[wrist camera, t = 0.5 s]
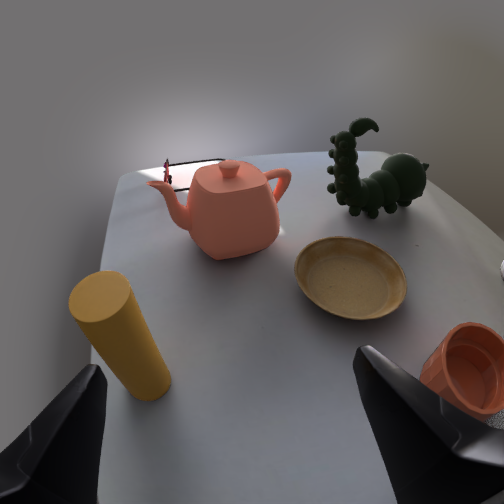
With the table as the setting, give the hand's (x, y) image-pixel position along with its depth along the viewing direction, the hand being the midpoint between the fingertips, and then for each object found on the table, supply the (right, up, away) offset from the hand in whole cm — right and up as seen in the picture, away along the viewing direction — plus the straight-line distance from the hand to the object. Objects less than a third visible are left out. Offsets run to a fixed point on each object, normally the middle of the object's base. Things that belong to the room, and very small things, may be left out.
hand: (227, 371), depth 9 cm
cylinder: (-10, -9, +17) cm, 21 cm away
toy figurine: (+25, +12, +43) cm, 51 cm away
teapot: (-3, +6, +35) cm, 35 cm away
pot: (+23, -11, +14) cm, 30 cm away
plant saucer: (+13, -1, +27) cm, 30 cm away
